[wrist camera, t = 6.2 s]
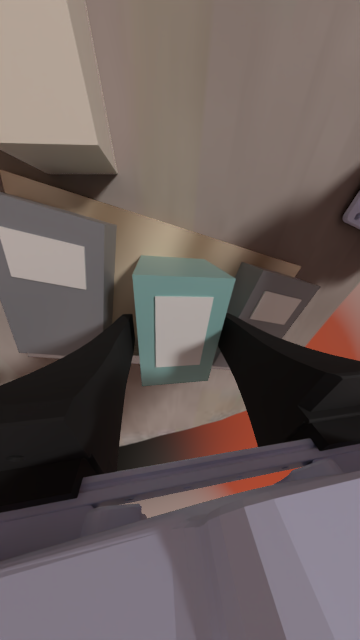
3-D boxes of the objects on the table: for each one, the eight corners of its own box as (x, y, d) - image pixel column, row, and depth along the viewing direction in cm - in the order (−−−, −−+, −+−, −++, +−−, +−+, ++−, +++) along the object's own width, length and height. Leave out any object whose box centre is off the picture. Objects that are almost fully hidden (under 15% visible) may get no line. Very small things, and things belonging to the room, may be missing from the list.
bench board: (296, 265, 14) (301, 266, 14) (239, 355, 20) (242, 359, 19) (8, 172, 8) (-1, 169, 8) (45, 336, 14) (41, 340, 14)
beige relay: (81, -24, 6) (-6, -326, 3) (118, 174, 9) (98, 145, 6) (-30, -39, 6) (-293, -424, 2) (49, 174, 9) (-15, 142, 6)
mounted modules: (290, 276, 14) (321, 287, 11) (244, 350, 19) (258, 370, 16) (15, 195, 9) (-44, 181, 6) (44, 328, 13) (18, 353, 11)
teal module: (204, 259, 12) (236, 279, 7) (192, 337, 16) (208, 381, 12) (141, 255, 11) (132, 275, 7) (145, 338, 15) (141, 387, 11)
